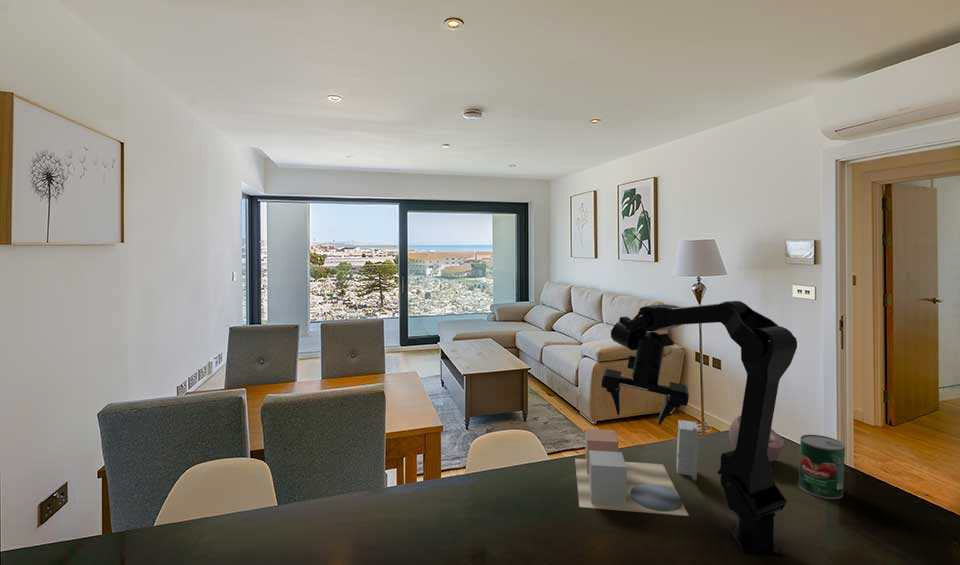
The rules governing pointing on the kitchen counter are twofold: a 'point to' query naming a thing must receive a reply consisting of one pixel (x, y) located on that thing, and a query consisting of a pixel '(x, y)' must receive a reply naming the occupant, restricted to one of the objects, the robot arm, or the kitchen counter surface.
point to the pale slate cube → (607, 477)
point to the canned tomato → (821, 466)
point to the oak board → (637, 490)
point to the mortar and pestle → (774, 445)
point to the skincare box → (687, 448)
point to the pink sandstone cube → (599, 442)
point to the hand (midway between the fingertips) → (638, 419)
